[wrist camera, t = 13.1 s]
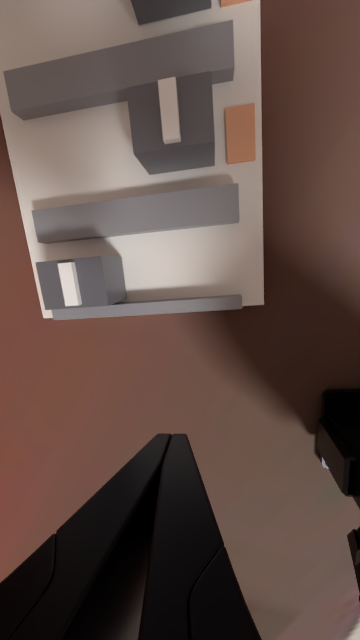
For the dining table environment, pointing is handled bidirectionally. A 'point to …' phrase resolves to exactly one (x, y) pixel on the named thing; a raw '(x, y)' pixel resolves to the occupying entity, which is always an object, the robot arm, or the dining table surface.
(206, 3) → the tab
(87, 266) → the tab
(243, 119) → the switch board
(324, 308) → the dining table surface
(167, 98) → the tab
